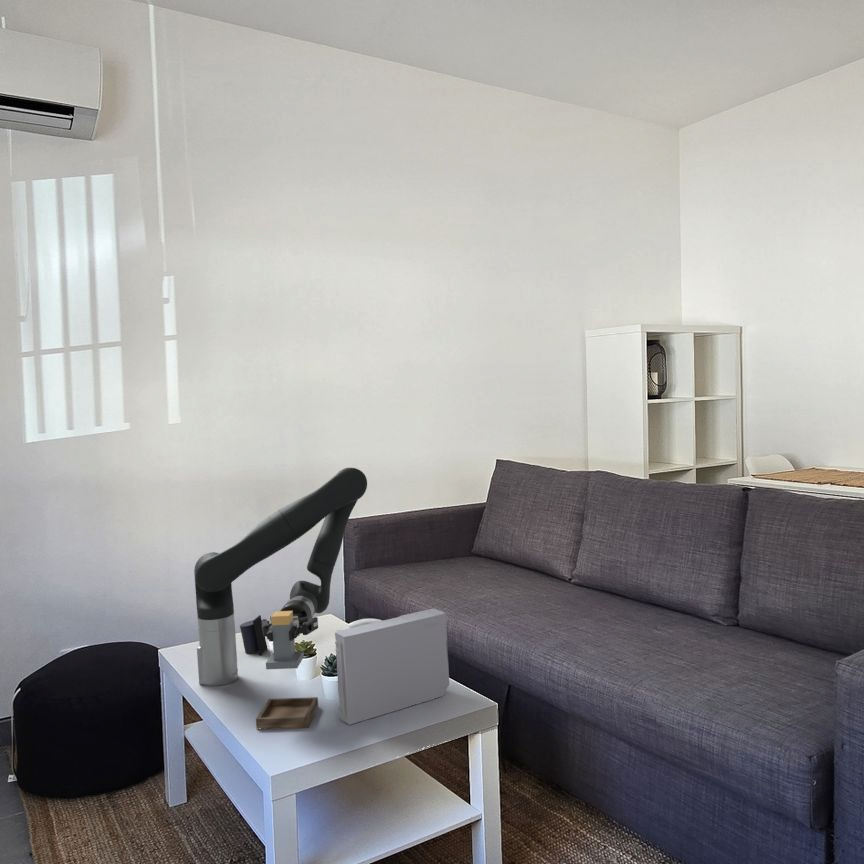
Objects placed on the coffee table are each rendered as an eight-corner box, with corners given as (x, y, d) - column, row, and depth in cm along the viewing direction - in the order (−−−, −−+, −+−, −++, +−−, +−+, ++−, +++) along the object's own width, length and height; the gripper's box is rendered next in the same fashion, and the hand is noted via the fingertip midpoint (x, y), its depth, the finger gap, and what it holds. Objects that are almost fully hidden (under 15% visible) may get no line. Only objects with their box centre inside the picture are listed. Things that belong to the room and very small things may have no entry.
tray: (256, 729, 175) (255, 719, 175) (269, 708, 187) (268, 698, 186) (308, 727, 174) (307, 717, 174) (318, 706, 186) (317, 697, 186)
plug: (266, 669, 177) (262, 618, 176) (273, 658, 184) (270, 609, 183) (297, 668, 176) (294, 617, 176) (303, 657, 183) (300, 608, 183)
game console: (336, 717, 179) (331, 631, 178) (436, 687, 194) (432, 608, 193) (348, 725, 175) (343, 637, 174) (449, 694, 189) (445, 612, 188)
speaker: (274, 648, 230) (267, 614, 230) (261, 655, 225) (254, 620, 225) (254, 648, 234) (248, 614, 234) (241, 655, 229) (234, 620, 229)
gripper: (267, 600, 194) (247, 621, 177) (324, 598, 193) (310, 619, 176) (269, 630, 194) (250, 654, 177) (326, 628, 194) (312, 652, 177)
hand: (280, 636), depth 177 cm, fingers closed on plug, 4 cm apart
